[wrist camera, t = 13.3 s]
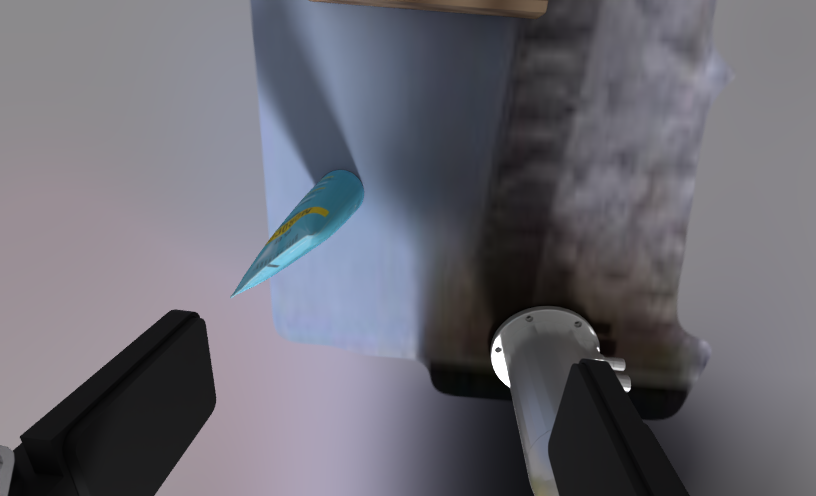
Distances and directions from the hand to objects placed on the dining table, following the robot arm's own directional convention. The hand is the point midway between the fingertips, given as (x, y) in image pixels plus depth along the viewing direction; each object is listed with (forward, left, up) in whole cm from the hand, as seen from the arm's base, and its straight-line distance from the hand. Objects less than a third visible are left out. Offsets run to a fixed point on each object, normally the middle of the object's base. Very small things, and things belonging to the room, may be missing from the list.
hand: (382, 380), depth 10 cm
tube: (+9, +5, -34) cm, 35 cm away
